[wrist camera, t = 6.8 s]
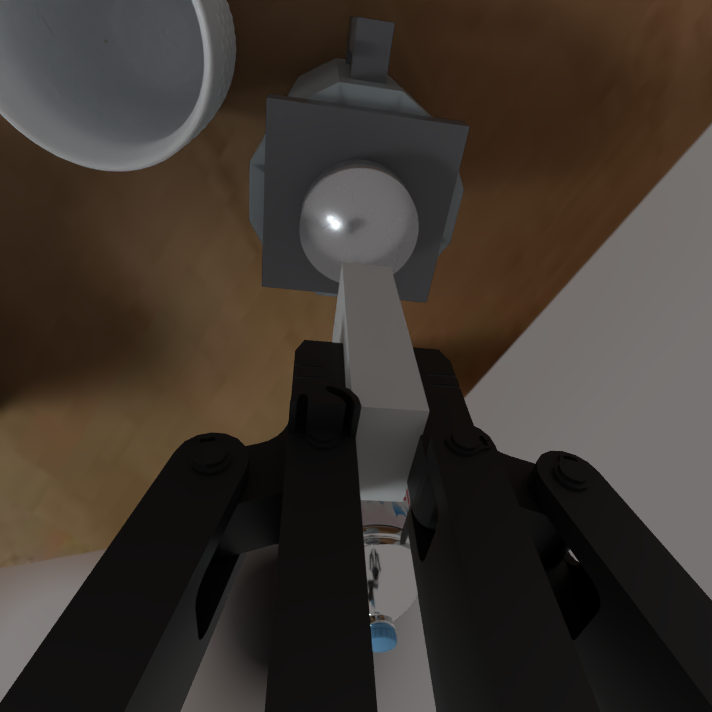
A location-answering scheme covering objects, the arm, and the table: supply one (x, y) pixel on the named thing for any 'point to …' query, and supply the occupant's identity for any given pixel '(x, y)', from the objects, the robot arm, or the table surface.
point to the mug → (114, 76)
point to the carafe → (353, 142)
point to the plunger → (357, 218)
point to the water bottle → (387, 568)
